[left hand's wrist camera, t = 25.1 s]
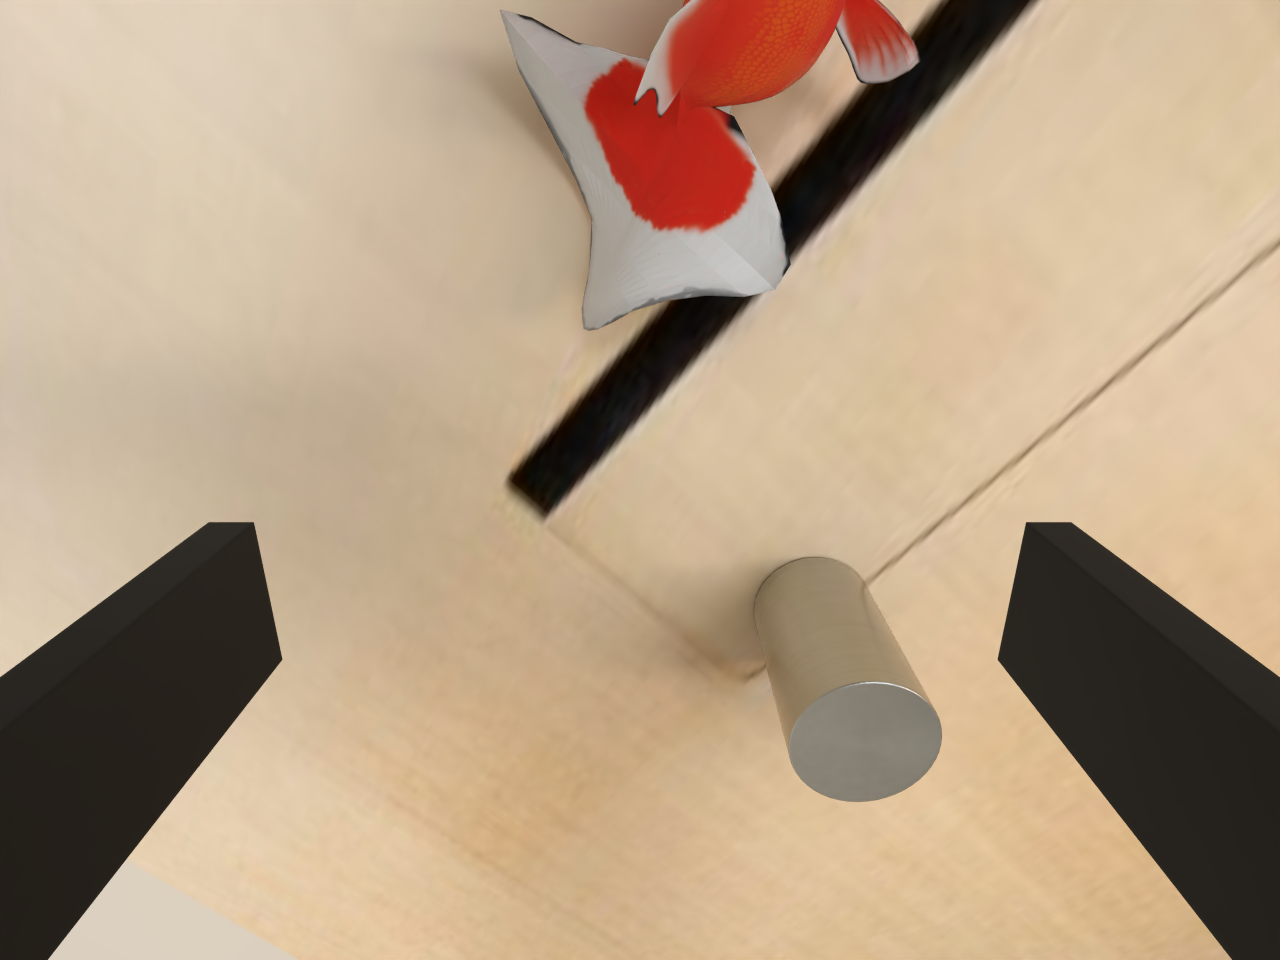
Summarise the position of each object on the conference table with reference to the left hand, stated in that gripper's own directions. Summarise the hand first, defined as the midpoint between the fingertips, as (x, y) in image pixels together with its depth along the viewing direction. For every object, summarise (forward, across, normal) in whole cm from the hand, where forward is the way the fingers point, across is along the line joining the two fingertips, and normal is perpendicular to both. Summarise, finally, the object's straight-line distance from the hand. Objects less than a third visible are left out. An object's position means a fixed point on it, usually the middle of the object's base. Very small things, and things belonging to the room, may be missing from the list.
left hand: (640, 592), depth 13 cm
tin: (+18, +8, -11) cm, 23 cm away
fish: (+18, +2, +9) cm, 20 cm away
